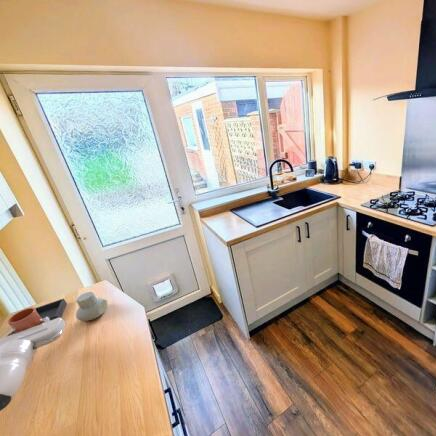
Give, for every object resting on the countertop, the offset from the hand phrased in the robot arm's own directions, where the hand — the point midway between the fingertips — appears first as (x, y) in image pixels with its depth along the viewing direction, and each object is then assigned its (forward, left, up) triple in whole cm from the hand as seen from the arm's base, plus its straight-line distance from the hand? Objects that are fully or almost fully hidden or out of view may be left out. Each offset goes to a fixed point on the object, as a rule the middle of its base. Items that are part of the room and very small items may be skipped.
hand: (31, 324), depth 82 cm
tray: (-9, +26, -15) cm, 31 cm away
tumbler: (0, -1, -6) cm, 6 cm away
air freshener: (+11, +15, -15) cm, 24 cm away
